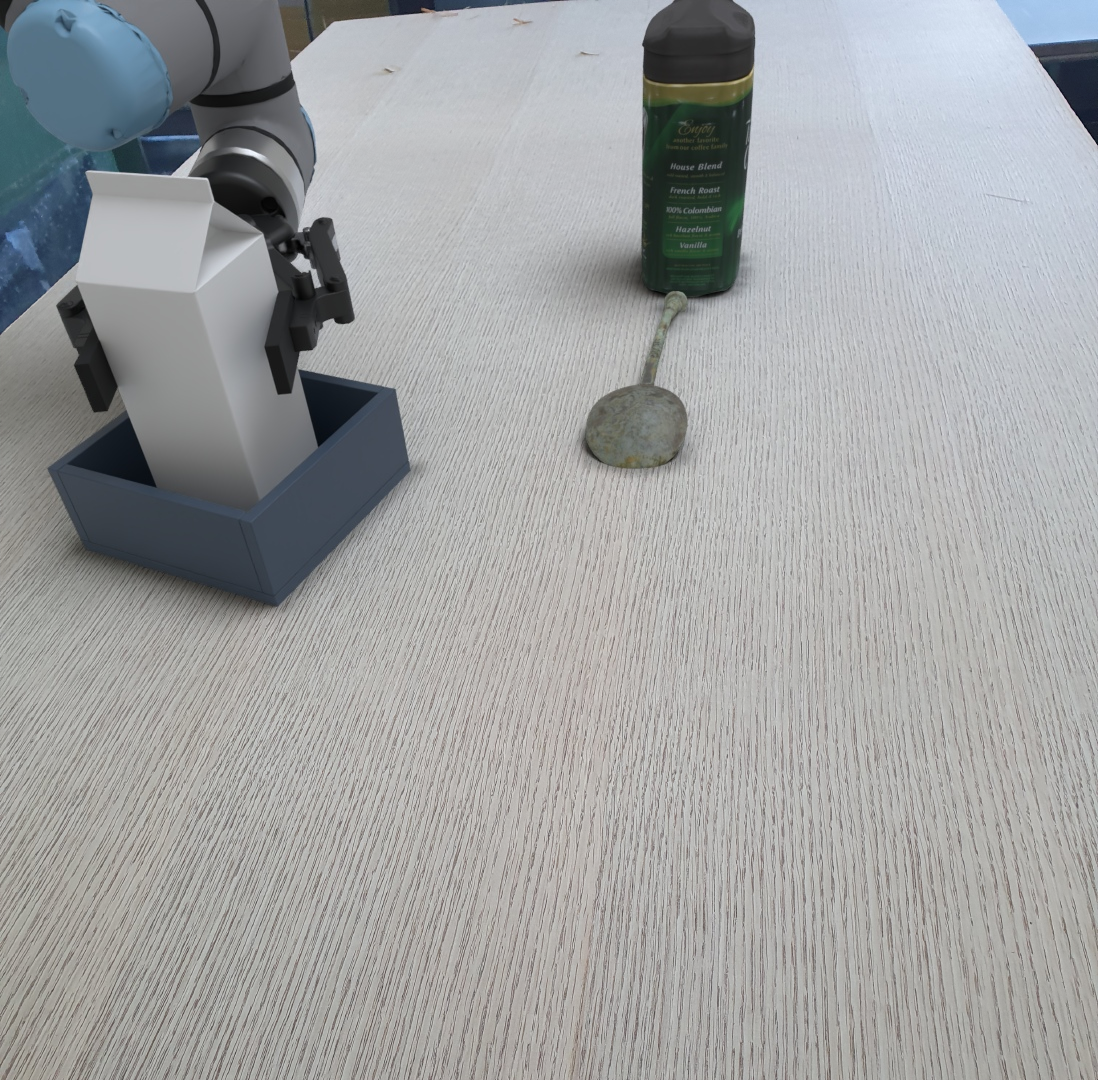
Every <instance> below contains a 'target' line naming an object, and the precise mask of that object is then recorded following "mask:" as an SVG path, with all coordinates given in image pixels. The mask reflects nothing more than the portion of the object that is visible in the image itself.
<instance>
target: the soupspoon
mask: <svg viewBox="0 0 1098 1080" xmlns="http://www.w3.org/2000/svg"><path fill="white" fill-rule="evenodd" d="M663 304H664V308H663V313H662V314H663V315H662V317H661V320H660V322H659V324H658V327H657V329H656V332H655V335H654V338H653V341H652V344H651V347H650V350H649V352H648V355H647V358H646V361H645V364H644V368H643V371H642V375H641V379H640V382H639V384H633V385H627V386H624V387H620V388H617V389H614V390H612V391H611V392H608V393H606V394H605V395H604V396H602V397H600V398H599V399H598V400H597V401H596V402H595V403H594V405H593V406H592V407H591V409H590V410H589V413H588V415H587V419H586V424H585V434H584V436H585V441H586V444H587V446H588V447H589V449H590V451H591V452H592V453H593V456H595V457H596V458H597V459H598V461H600V462H602V463H604V464H605V465H607V466H609V467H613V468H619V469H629V470H641V469H653V468H657V467H662V466H663V465H665V464H667V463H668V462H669V461H670V460H671V459H673V458H675V456H676V455H677V453H678V452H679V451H680V448H681V447H682V444H683V443H684V440H685V438H686V434H687V429H688V413H687V410H686V407H685V405H684V402H683V401H682V400H681V398H680V397H679V396H678V395H677V394H676V393H674V392H673V391H671V390H669V389H666V388H665V387H661V386H657V385H655V382H656V381H655V380H656V377H657V376H656V375H657V372H658V368H659V362H660V358H661V355H662V352H663V347H664V344H665V339H666V336H667V333H668V329H669V326H670V323H671V321H672V319H674V318H675V317H676V315H677V313H684V312H685V311H686V309H687V307H688V304H689V303H688V297H686V296H685V294H684V293H682V292H679V291H676V292H674V291H673V292H670V293H669V294H667V293H666V295H665V297H664V303H663Z"/></svg>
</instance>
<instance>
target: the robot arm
mask: <svg viewBox="0 0 1098 1080" xmlns="http://www.w3.org/2000/svg"><path fill="white" fill-rule="evenodd" d="M280 10H281V9H280V3H279V0H0V27H1V28H2V29H3V30H4V31H5V32H6V33H7V35H8V36H7V41H6V42H7V43H6V57H7V62H8V71H9V74H10V76H11V79H12V82H13V85H15V86H16V87H17V88H18V89H19V92H20V94H21V96H22V98H23V100H24V101H25V108H26V109H27V110H28V111H29V113H30V114H31V116H32V117H33V118H34V119H35V120H36V121H37V123H39V124H40V126H41V127H43V128H44V129H45V131H47V132H48V133H50V134H51V135H52V136H53V137H55V138H56V139H58V140H59V141H61V142H63V143H65V144H67V145H68V146H71V147H74V148H77V149H79V150H83V151H87V152H94V153H95V152H97V153H98V152H107V151H111V150H115V149H117V148H119V147H121V146H123V145H126V144H127V143H129V142H131V141H133V140H135V139H137V138H140V137H144V136H146V135H148V134H149V133H150V132H151V131H153V130H156V129H159V127H160V126H162V125H163V124H164V122H165V121H166V120H167V118H168V117H170V116H171V115H172V114H173V113H175V112H176V111H178V110H179V109H180V108H182V107H183V106H184V105H186V104H188V103H189V107H190V111H191V115H192V118H193V121H194V125H195V128H196V132H197V136H198V139H199V143H200V146H201V148H200V149H199V153H198V154H197V157H196V159H195V161H194V163H193V165H192V167H191V169H190V171H189V173H188V175H187V177H198V178H207V179H208V180H209V184H210V187H211V191H212V194H213V198H214V201H215V202H216V203H218V204H219V205H221V206H223V207H224V208H226V209H227V210H229V211H230V212H232V213H233V214H235V215H236V216H238V217H239V218H241V219H242V220H244V221H245V222H247V223H248V224H250V225H251V226H253V227H255V228H256V229H258V230H259V231H261V232H262V233H263V235H264V239H265V242H266V246H267V250H268V253H269V257H270V261H271V265H272V269H273V273H274V277H275V281H276V285H277V289H278V294H277V298H276V302H275V306H274V310H273V314H272V318H271V322H270V326H269V330H268V334H267V338H266V342H265V346H264V348H265V351H266V355H267V358H268V362H269V366H270V369H271V373H272V376H273V380H274V384H275V387H276V391H277V394H278V395H282V394H292V389H293V384H294V379H295V374H296V369H297V367H298V363H299V358H300V354H301V352H308V351H309V352H310V351H314V349H315V348H316V347H318V340H319V336H320V335H319V334H320V331H322V329H323V328H324V323H325V322H327V321H329V320H332V319H333V322H334V323H335V324H337V325H348V324H351V323H353V322H354V321H355V319H356V315H355V311H354V306H353V302H352V296H351V291H350V287H349V283H348V278H347V275H346V272H345V270H344V267H343V265H342V262H341V254H340V248H339V244H338V239H337V233H336V230H335V224H334V220H333V219H332V217H325V216H322V217H318V218H317V219H314V221H312V224H311V226H305V227H303V228H302V231H299V228H300V225H301V219H302V215H303V210H304V206H305V202H306V197H307V194H308V190H309V188H310V186H311V184H312V181H313V177H314V175H315V172H316V169H315V166H316V164H317V161H318V159H317V158H318V157H317V146H316V135H315V130H314V129H315V128H314V126H313V123H312V120H311V118H310V116H309V114H308V112H307V111H306V109H305V108H304V106H303V105H302V104H301V102H300V98H299V93H298V88H297V83H296V81H295V79H294V74H293V70H292V63H291V57H290V53H289V48H288V43H287V38H286V34H285V29H284V24H283V20H282V15H281V11H280ZM299 255H302V256H303V259H305V260H308V261H309V264H310V268H311V269H312V270H315V272H316V275H317V276H316V277H317V279H318V281H319V284H320V286H319V287H315V283H314V279H313V275H312V271H311V270H310V269H308V272H306V271H302V272H301V271H300V270H299V269H298V268H297V267H296V266H295V265H293V263H292V262H294V261H295V260H296V259H297V258H298V256H299ZM55 306H56V309H57V312H58V314H59V317H60V319H61V321H62V324H63V327H64V329H65V331H66V334H67V336H68V338H69V340H70V343H71V345H72V348H73V349H75V350H76V352H77V354H78V356H77V357H76V360H75V362H74V363H73V367H74V369H75V372H76V375H77V377H78V379H79V381H80V384H81V386H82V389H83V391H84V393H85V396H86V398H87V400H88V403H89V405H90V408H91V410H92V412H93V413H105V412H108V411H109V409H110V407H111V404H112V402H113V401H114V400H113V399H114V397H115V395H116V393H117V390H118V386H117V383H116V381H115V378H114V375H113V373H112V370H111V368H110V365H109V363H108V360H107V358H106V355H105V353H104V350H103V348H102V345H101V343H100V340H99V339H98V336H97V334H96V331H95V328H94V326H93V323H92V321H91V318H90V316H89V313H88V311H87V308H86V306H85V303H84V300H83V298H82V295H81V293H80V290H79V288H78V285H77V284H76V285H75V286H74V287H73V288H72V289H70V291H69V292H68V293H67V294H66V295H64V297H62V299H61V300H60V301H58V303H56V305H55Z"/></svg>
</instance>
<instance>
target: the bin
mask: <svg viewBox="0 0 1098 1080" xmlns="http://www.w3.org/2000/svg"><path fill="white" fill-rule="evenodd" d="M298 371H299V375H300V379H301V383H302V387H303V391H304V395H305V398H306V402H307V406H308V410H309V414H310V418H311V422H312V426H313V430H314V434H315V438H316V442H317V446H318V448H317V449H316V450H315V451H314V452H313V453H312V454H311V455H310V456H309V457H307V458H306V459H305V460H304V461H303V462H302V463H301V464H300V465H299V466H298V467H296V468H295V469H294V470H293V471H292V472H291V473H290V474H289V475H288V476H287V477H286V478H284V479H283V480H282V481H281V482H280V483H279V484H278V485H277V486H276V487H275V488H273V489H272V490H271V491H270V492H269V493H268V494H267V495H266V496H265V497H264V498H262V499H261V500H260V501H259V502H258V503H257V504H256V505H255V506H254V507H253V508H251V509H250V510H249V511H248V512H246V511H242V510H238V509H235V508H231V507H227V506H223V505H220V504H216V503H212V502H208V501H204V500H201V499H197V498H193V497H189V496H185V495H182V494H178V493H174V492H170V491H167V490H163V489H159V488H157V486H156V484H155V481H154V479H153V476H152V474H151V471H150V468H149V466H148V463H147V461H146V458H145V456H144V453H143V451H142V448H141V446H140V443H139V440H138V438H137V435H136V433H135V430H134V428H133V425H132V423H131V420H130V418H129V415H128V412H127V410H126V409H125V410H124V411H123V412H122V413H120V414H118V415H117V416H116V417H114V418H113V419H112V420H110V421H109V422H108V423H106V424H105V425H104V426H102V427H101V428H100V429H98V430H97V431H95V432H94V433H92V434H91V435H90V436H88V437H87V438H86V439H84V440H83V441H82V442H80V443H79V444H78V445H76V446H75V447H74V448H72V449H71V450H69V451H68V452H67V453H66V454H64V455H63V456H61V457H60V458H59V459H57V460H56V461H54V463H52V464H50V465H49V466H47V471H48V473H49V476H50V478H51V480H52V482H53V484H54V486H55V488H56V491H57V493H58V495H59V498H60V499H61V501H62V504H63V505H64V508H65V510H66V512H67V514H68V516H69V518H70V520H71V523H72V525H73V527H74V529H75V531H76V533H77V535H78V537H79V539H80V541H81V544H82V546H83V548H84V550H86V551H89V552H92V553H96V554H99V555H103V556H106V557H109V558H112V559H116V560H119V561H122V562H126V563H130V564H133V565H136V566H139V567H142V568H146V569H149V570H153V571H155V572H160V573H162V574H166V575H168V576H169V575H170V576H173V577H176V578H180V579H183V580H185V581H186V580H187V581H190V582H193V583H195V584H199V585H203V586H206V587H210V588H213V589H215V590H220V591H223V592H226V593H230V594H234V595H236V596H240V597H243V598H247V599H249V600H254V601H256V602H260V603H262V604H263V603H264V604H267V605H269V606H273V607H280V605H281V604H282V603H283V602H284V601H285V600H286V599H287V598H288V597H289V596H290V595H291V594H292V593H293V592H294V591H295V590H296V589H297V588H298V587H299V586H300V585H301V584H302V583H303V582H304V581H305V580H306V579H307V577H309V576H310V575H311V574H312V573H313V571H314V570H315V569H316V568H317V567H318V566H319V565H320V564H321V563H322V562H323V561H324V560H326V558H327V557H328V556H329V555H330V554H332V552H333V551H334V550H335V549H336V548H337V547H338V546H339V545H340V544H341V543H342V541H344V540H345V539H346V537H348V536H349V535H350V534H351V533H352V531H354V529H355V528H356V527H357V526H359V525H360V524H361V522H362V521H363V520H364V519H365V518H367V516H368V515H369V514H370V513H371V512H372V511H373V510H374V509H375V508H376V507H377V506H378V505H379V504H380V503H381V502H382V501H383V499H385V498H386V497H387V495H389V494H390V493H391V492H392V491H393V489H394V488H396V486H397V485H398V484H399V483H400V482H401V481H402V480H404V478H405V477H406V476H407V475H408V474H409V473H410V472H411V471H412V470H411V466H410V465H411V464H410V460H409V455H408V454H409V453H408V449H407V444H406V437H405V432H404V427H403V421H402V416H401V411H400V406H399V405H400V404H399V401H398V400H399V399H398V394H397V390H396V388H393V387H388V386H384V385H380V384H374V383H370V382H364V381H359V380H354V379H349V378H345V377H340V376H336V375H335V376H334V375H330V374H324V373H319V372H315V371H309V370H305V369H300V368H298Z"/></svg>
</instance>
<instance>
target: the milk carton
mask: <svg viewBox="0 0 1098 1080" xmlns="http://www.w3.org/2000/svg"><path fill="white" fill-rule="evenodd" d="M85 177H86V179H87V182H88V185H89V188H90V190H91V192H92V193H91V194H92V197H91V201H90V207H89V211H88V216H87V220H86V226H85V230H84V234H83V240H82V245H81V250H80V254H79V260H78V264H77V269H76V274H75V277H74V278H75V279H74V281H75V282H76V285H78V288H79V290H80V293H81V295H82V298H83V300H84V303H85V306H86V308H87V311H88V313H89V316H90V318H91V321H92V323H93V326H94V328H95V331H96V334H97V336H98V339H99V340H100V343H101V345H102V348H103V350H104V353H105V355H106V358H107V360H108V363H109V365H110V368H111V370H112V373H113V375H114V378H115V381H116V383H117V386H118V388H117V390H118V392H119V395H120V398H121V400H122V401H123V402H122V403H123V405H124V408H125V411H126V410H127V412H128V415H129V418H130V420H131V423H132V425H133V428H134V430H135V433H136V435H137V438H138V440H139V443H140V446H141V448H142V451H143V453H144V456H145V458H146V461H147V463H148V466H149V468H150V471H151V474H152V476H153V479H154V481H155V484H156V486H157V488H159V489H163V490H167V491H170V492H174V493H178V494H182V495H185V496H189V497H193V498H197V499H201V500H204V501H208V502H212V503H216V504H220V505H223V506H227V507H231V508H235V509H238V510H242V511H246V512H248V511H249V510H250V509H251V508H253V507H254V506H255V505H256V504H257V503H258V502H259V501H260V500H261V499H262V498H264V497H265V496H266V495H267V494H268V493H269V492H270V491H271V490H272V489H273V488H275V487H276V486H277V485H278V484H279V483H280V482H281V481H282V480H283V479H284V478H286V477H287V476H288V475H289V474H290V473H291V472H292V471H293V470H294V469H295V468H296V467H298V466H299V465H300V464H301V463H302V462H303V461H304V460H305V459H306V458H307V457H309V456H310V455H311V454H312V453H313V452H314V451H315V450H316V449H317V448H318V446H317V442H316V438H315V434H314V430H313V426H312V422H311V418H310V414H309V410H308V406H307V402H306V398H305V395H304V391H303V387H302V383H301V379H300V375H299V371H298V369H299V367H298V366H297V369H296V374H295V379H294V384H293V389H292V394H282V395H278V394H277V391H276V387H275V384H274V380H273V376H272V373H271V369H270V366H269V362H268V358H267V355H266V351H265V348H264V346H265V342H266V338H267V334H268V330H269V326H270V322H271V318H272V314H273V310H274V306H275V302H276V298H277V294H278V289H277V285H276V281H275V277H274V273H273V269H272V265H271V261H270V257H269V253H268V250H267V246H266V242H265V239H264V235H263V233H262V232H261V231H259V230H258V229H256V228H255V227H253V226H251V225H250V224H248V223H247V222H245V221H244V220H242V219H241V218H239V217H238V216H236V215H235V214H233V213H232V212H230V211H229V210H227V209H226V208H224V207H223V206H221V205H219V204H218V203H216V202H215V201H214V198H213V194H212V191H211V187H210V184H209V180H208V179H207V178H198V177H188V176H183V175H182V176H181V175H167V174H151V173H135V172H121V171H105V170H87V171H85Z"/></svg>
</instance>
